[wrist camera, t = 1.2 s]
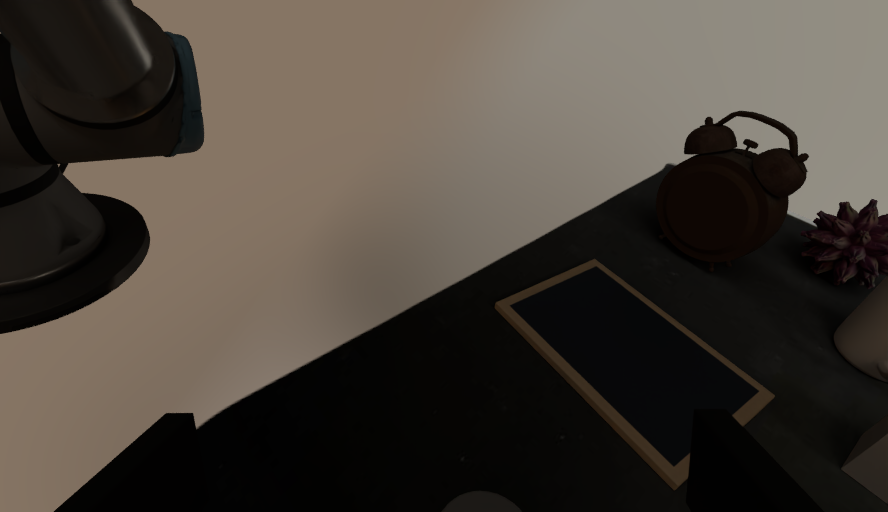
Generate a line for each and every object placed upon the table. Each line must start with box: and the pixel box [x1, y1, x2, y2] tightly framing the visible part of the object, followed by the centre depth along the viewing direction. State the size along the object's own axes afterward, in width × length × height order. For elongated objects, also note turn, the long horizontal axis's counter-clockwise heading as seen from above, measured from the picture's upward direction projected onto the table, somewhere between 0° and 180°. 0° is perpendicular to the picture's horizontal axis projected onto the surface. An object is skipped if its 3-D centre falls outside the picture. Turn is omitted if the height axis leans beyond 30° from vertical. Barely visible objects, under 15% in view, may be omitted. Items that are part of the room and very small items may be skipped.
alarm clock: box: [656, 111, 809, 272], centre depth 60 cm, size 14×7×20 cm, turn 35°
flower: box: [801, 199, 888, 289], centre depth 62 cm, size 12×12×12 cm
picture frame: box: [495, 259, 775, 490], centre depth 50 cm, size 24×17×1 cm
